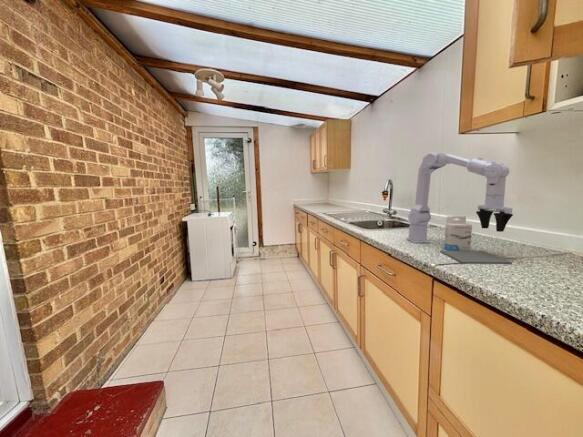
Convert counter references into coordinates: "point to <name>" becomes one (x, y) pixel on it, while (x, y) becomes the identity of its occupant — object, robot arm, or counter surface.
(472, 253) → the mat
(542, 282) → the counter surface
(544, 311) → the counter surface
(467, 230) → the ink box
